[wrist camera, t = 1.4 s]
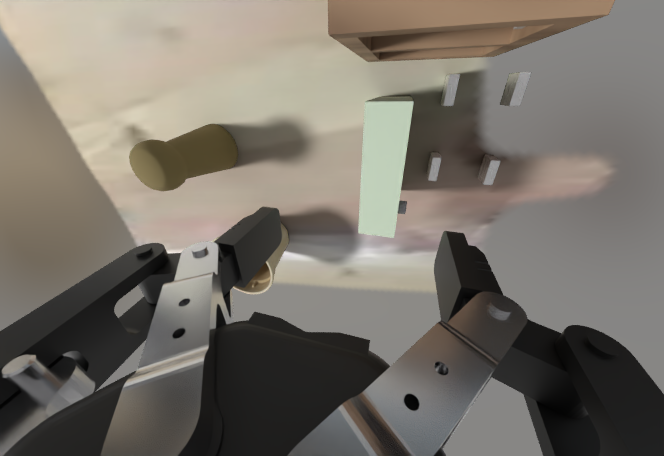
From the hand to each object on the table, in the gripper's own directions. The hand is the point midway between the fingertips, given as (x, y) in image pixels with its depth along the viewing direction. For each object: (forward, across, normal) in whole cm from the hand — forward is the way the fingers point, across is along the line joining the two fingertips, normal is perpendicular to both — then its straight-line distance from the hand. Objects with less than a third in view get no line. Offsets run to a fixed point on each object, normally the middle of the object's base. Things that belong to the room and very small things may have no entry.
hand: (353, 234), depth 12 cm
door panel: (+18, -1, 0) cm, 18 cm away
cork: (+19, +22, +1) cm, 29 cm away
